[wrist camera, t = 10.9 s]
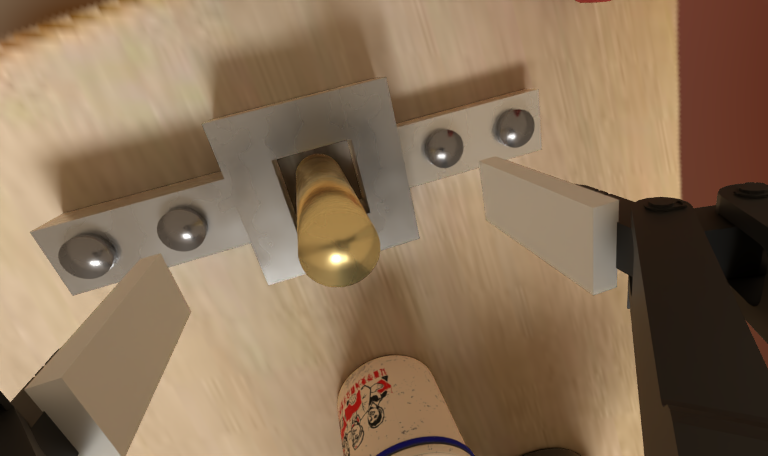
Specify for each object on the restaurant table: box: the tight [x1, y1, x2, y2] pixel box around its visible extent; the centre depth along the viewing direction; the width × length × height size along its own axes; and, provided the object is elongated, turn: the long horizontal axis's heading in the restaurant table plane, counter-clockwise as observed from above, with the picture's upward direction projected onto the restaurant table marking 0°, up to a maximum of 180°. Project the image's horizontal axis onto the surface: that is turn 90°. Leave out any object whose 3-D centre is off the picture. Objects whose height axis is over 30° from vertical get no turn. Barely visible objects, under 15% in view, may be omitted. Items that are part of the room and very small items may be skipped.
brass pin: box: [296, 154, 381, 287], centre depth 19 cm, size 3×3×12 cm
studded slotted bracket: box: [30, 77, 542, 296], centre depth 23 cm, size 10×30×4 cm, turn 103°
